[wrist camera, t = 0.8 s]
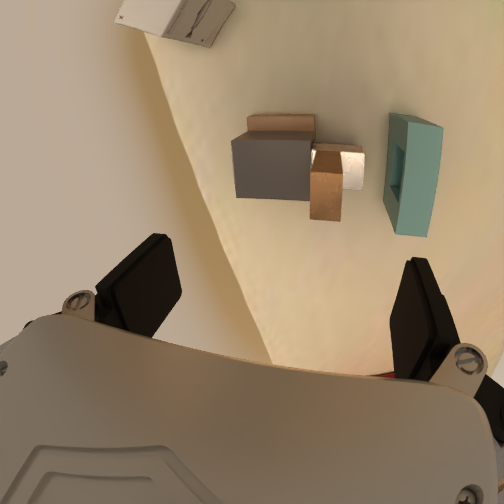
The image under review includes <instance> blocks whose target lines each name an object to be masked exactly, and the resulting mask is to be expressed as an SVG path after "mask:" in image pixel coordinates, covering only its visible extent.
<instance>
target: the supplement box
mask: <svg viewBox="0 0 504 504" xmlns="http://www.w3.org/2000/svg"><path fill="white" fill-rule="evenodd" d="M234 7H235V5H234V4H233V3H231V2H230V1H228V0H124V1H123V3H122V5H121V7H120V9H119V11H118V13H117V15H116V18H115V19H114V23H116V24H120V25H124V26H127V27H130V28H134V29H137V30H140V31H144V32H147V33H150V34H154V35H157V36H160V37H164V38H169V39H174V40H179V41H183V42H188V43H192V44H196V45H201V46H204V47H208V48H210V47H211V45H212V43H213V41H214V39H215V37H216V35H217V33H218V32H219V30H220V28H221V27H222V25H223V23H224V22H225V20H226V19H227V17H228V16H229V14H230V13H231V11H232V10H233V8H234Z"/></svg>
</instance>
